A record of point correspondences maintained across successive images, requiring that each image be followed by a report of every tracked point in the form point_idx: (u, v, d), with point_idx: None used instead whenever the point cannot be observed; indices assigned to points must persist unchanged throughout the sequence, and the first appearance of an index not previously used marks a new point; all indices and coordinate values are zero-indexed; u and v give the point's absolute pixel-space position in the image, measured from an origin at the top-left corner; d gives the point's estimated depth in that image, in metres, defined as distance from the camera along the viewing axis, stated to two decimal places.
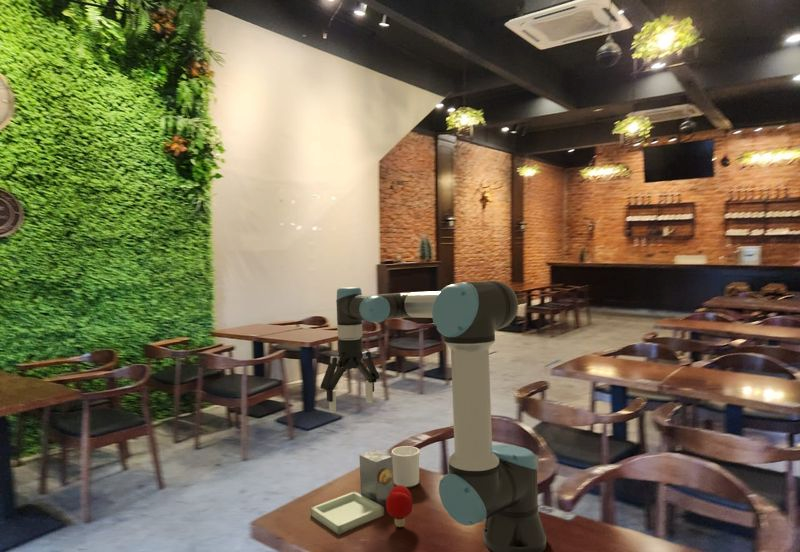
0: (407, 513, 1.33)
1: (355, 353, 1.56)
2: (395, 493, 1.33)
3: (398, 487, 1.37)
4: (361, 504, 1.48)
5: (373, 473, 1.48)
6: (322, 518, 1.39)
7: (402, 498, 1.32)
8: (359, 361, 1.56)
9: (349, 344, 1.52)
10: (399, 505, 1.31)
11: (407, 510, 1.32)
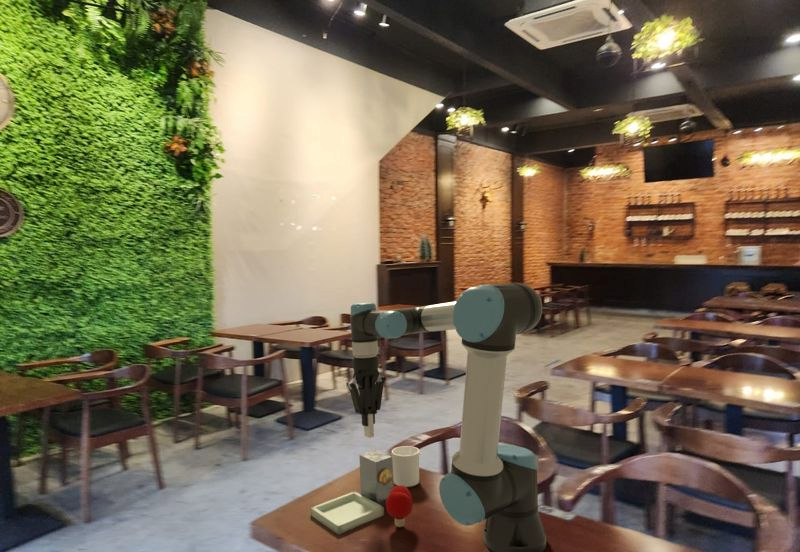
0: (407, 513, 1.33)
1: (371, 371, 1.50)
2: (395, 493, 1.33)
3: (398, 487, 1.37)
4: (361, 504, 1.48)
5: (373, 473, 1.48)
6: (322, 518, 1.39)
7: (402, 498, 1.32)
8: (375, 379, 1.50)
9: (364, 362, 1.46)
10: (399, 505, 1.31)
11: (407, 510, 1.32)
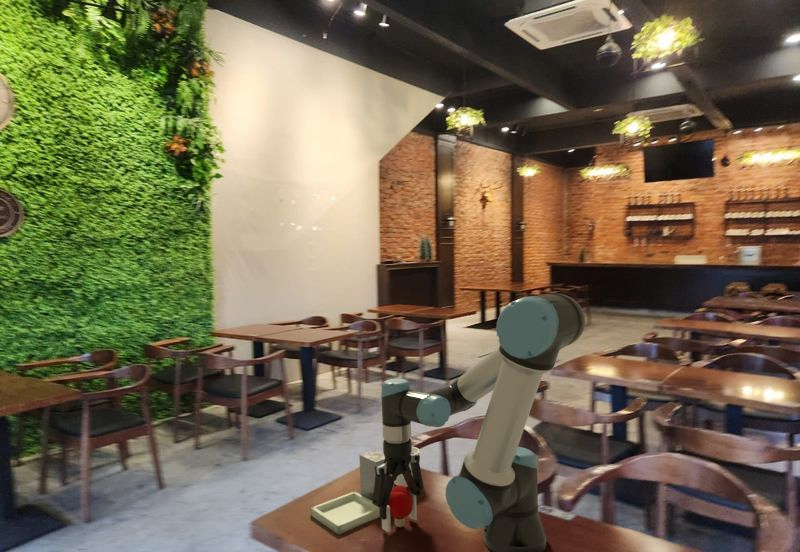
0: (407, 513, 1.33)
1: (403, 456, 1.35)
2: (395, 493, 1.33)
3: (398, 487, 1.37)
4: (361, 504, 1.48)
5: (373, 473, 1.48)
6: (322, 518, 1.39)
7: (402, 497, 1.32)
8: (408, 465, 1.35)
9: (397, 448, 1.31)
10: (399, 505, 1.31)
11: (407, 510, 1.32)
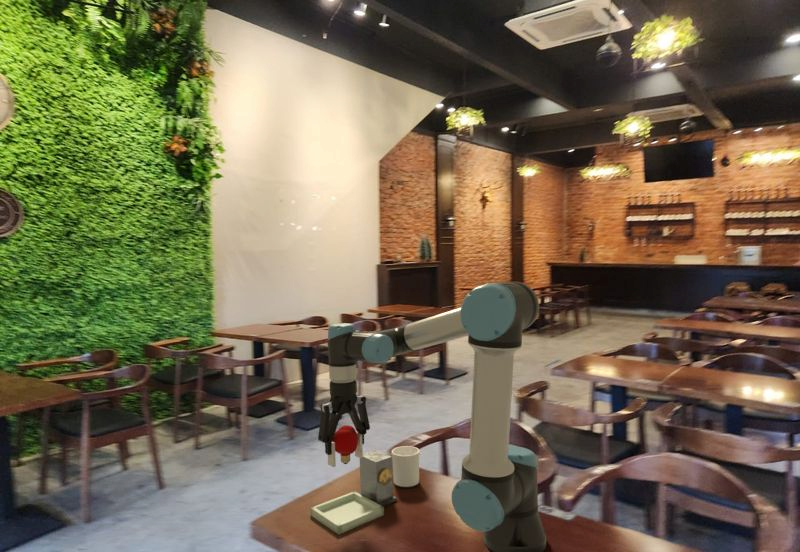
0: (351, 449, 1.40)
1: (349, 396, 1.42)
2: (340, 430, 1.40)
3: (344, 426, 1.44)
4: (361, 504, 1.48)
5: (373, 473, 1.48)
6: (322, 518, 1.39)
7: (347, 434, 1.39)
8: (353, 405, 1.42)
9: (341, 387, 1.38)
10: (343, 440, 1.38)
11: (352, 447, 1.39)
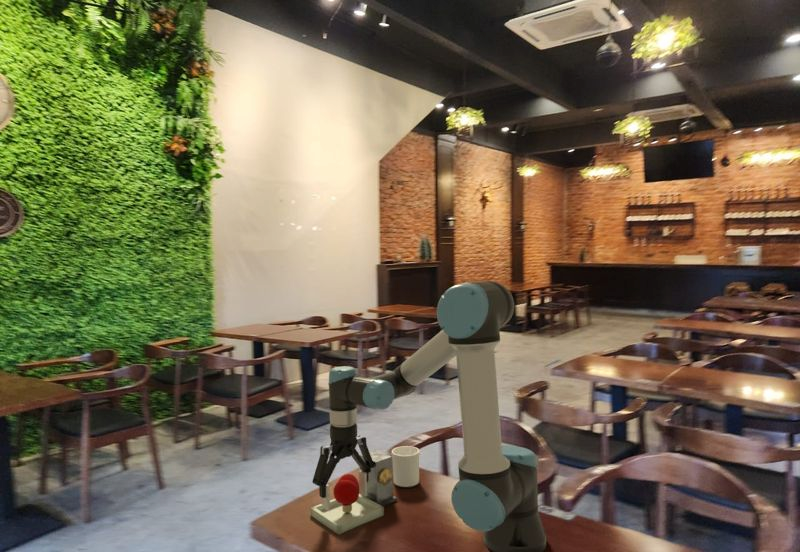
0: (353, 500, 1.40)
1: (349, 440, 1.42)
2: (342, 481, 1.40)
3: (346, 475, 1.44)
4: (361, 504, 1.48)
5: (373, 473, 1.48)
6: (322, 518, 1.39)
7: (348, 485, 1.39)
8: (353, 449, 1.42)
9: (342, 432, 1.38)
10: (344, 492, 1.38)
11: (353, 497, 1.40)
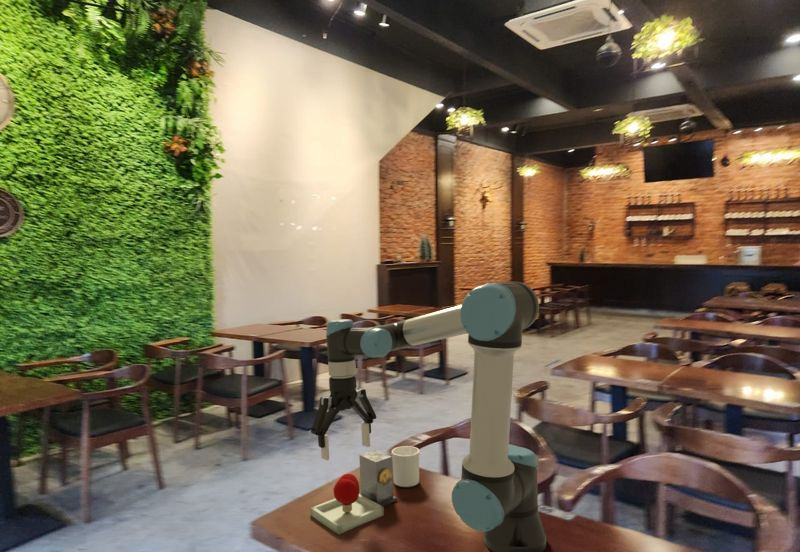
0: (353, 499, 1.40)
1: (348, 392, 1.42)
2: (342, 480, 1.41)
3: (346, 475, 1.44)
4: (361, 504, 1.48)
5: (373, 473, 1.48)
6: (322, 518, 1.39)
7: (348, 484, 1.40)
8: (353, 401, 1.42)
9: (341, 382, 1.38)
10: (345, 490, 1.39)
11: (353, 496, 1.40)
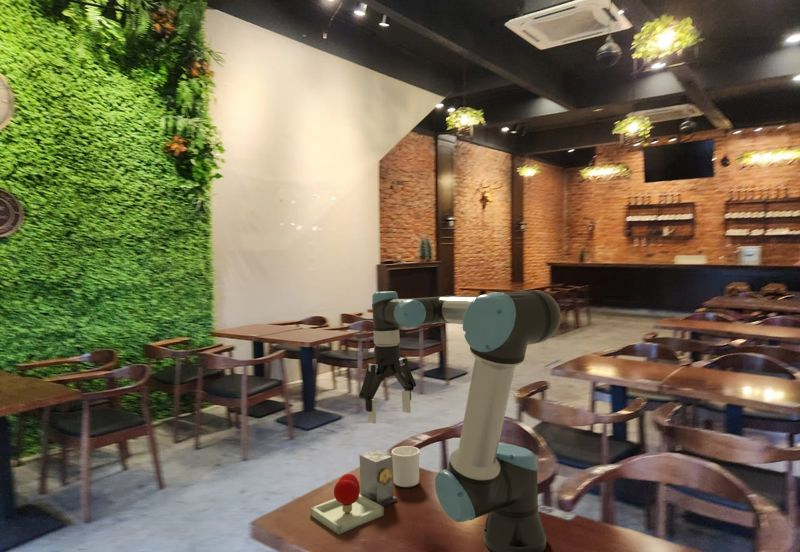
0: (353, 499, 1.40)
1: (392, 360, 1.49)
2: (342, 480, 1.41)
3: (346, 475, 1.44)
4: (361, 504, 1.48)
5: (373, 473, 1.48)
6: (322, 518, 1.39)
7: (349, 485, 1.40)
8: (397, 368, 1.50)
9: (387, 350, 1.46)
10: (345, 491, 1.38)
11: (354, 497, 1.40)
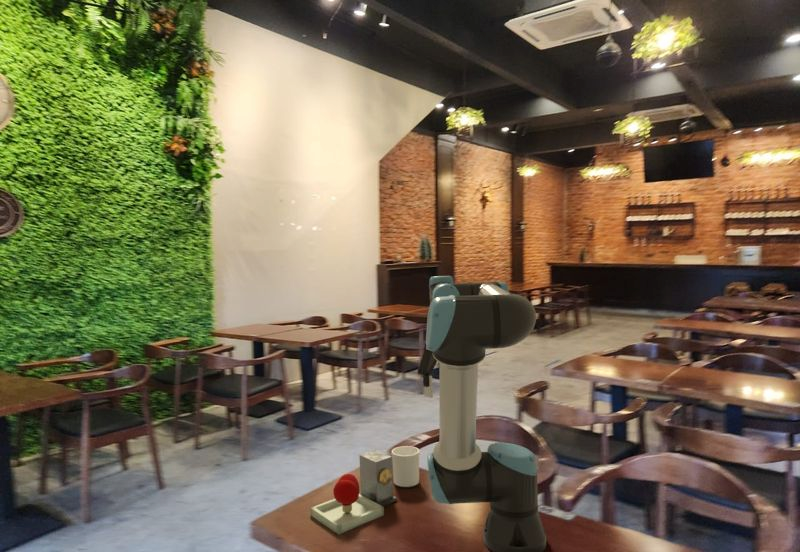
0: (353, 500, 1.40)
1: None
2: (342, 481, 1.41)
3: (346, 475, 1.44)
4: (361, 504, 1.48)
5: (373, 473, 1.48)
6: (322, 518, 1.39)
7: (348, 485, 1.39)
8: None
9: None
10: (344, 491, 1.38)
11: (353, 497, 1.40)
